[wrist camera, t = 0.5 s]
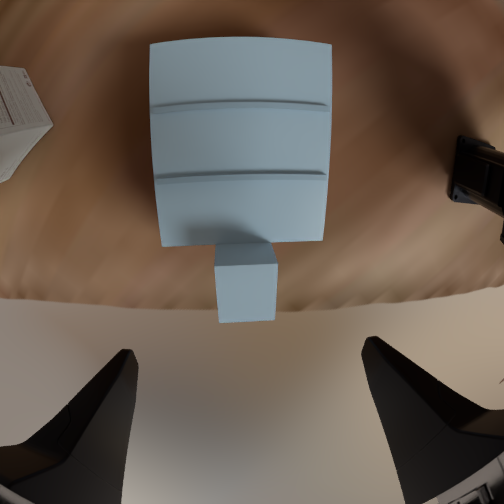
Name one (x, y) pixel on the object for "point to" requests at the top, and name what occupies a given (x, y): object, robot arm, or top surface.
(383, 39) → the top surface
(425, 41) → the top surface
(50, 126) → the supplement box
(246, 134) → the light blue tapered piece
